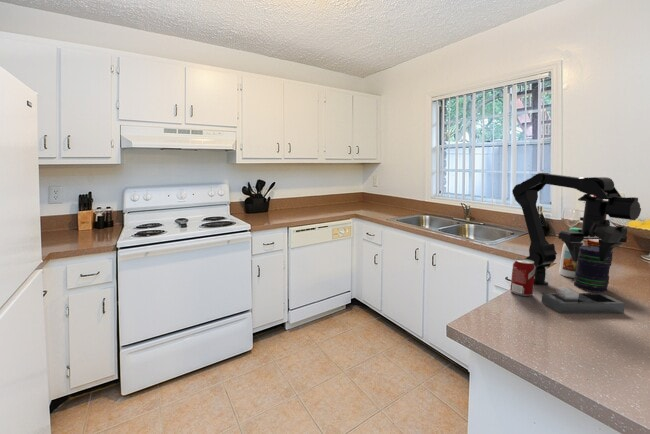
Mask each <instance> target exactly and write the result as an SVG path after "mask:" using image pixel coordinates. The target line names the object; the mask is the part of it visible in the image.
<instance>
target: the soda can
mask: <svg viewBox="0 0 650 434" xmlns="http://www.w3.org/2000/svg"><path fill="white" fill-rule="evenodd" d="M535 270H536V267H535V265H534V261H532V260H528V259H525V258H516V259H515V261H514V262H513V264H512V271H511V281H510V288H509V289H510V291H511V292H512V293H513V294H515V295H517V296H521V297H528V296H532V295H533V294H534V287H535V284H534V278H535Z"/></svg>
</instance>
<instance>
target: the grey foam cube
mask: <svg viewBox="0 0 650 434" xmlns="http://www.w3.org/2000/svg"><path fill="white" fill-rule="evenodd" d="M555 293H556V297H557V298H559V299H560V300H562V301H564V302H578V297H579V293H580V292H579V291H577V290H575V289H572V288H570V287H556V290H555Z"/></svg>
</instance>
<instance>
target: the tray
mask: <svg viewBox="0 0 650 434" xmlns="http://www.w3.org/2000/svg"><path fill="white" fill-rule="evenodd" d="M541 303H542V304H543V305H546V306H547V307H549V308H551V309H552V310H553V311H555V312H557V313H558V314H624V313H625V311H626V310H625V309H626V303H625V302H623V301H622V300H619V299H616V298H615V297H612V296H610V295H607V294H605V293H604V292H591V293H590V292H579V297H578V302H564V301H562V300H560V299H559V298H557V297H556V292H542V296H541Z"/></svg>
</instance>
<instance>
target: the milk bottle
mask: <svg viewBox="0 0 650 434" xmlns="http://www.w3.org/2000/svg"><path fill="white" fill-rule="evenodd" d="M579 229H582V227H581V228H579V227H569V230H568V231H574V232H578V230H579ZM578 233H580V232H578ZM581 243H583V245H581V246H584V245H585V246H586V244H585V242H584V240H583V241H581ZM559 263H560V264H559V271H558V272H559V275H560V276H564V277H566V278H571V279H575V278H574V276H575V271H576V270H577V263H578V261H577V262H575V261H573V259H572V257H571V254H570V252H569V250H568V247H567V246H566V244H565V242H564V243H563V244H562V249H561V257H560V262H559Z"/></svg>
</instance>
